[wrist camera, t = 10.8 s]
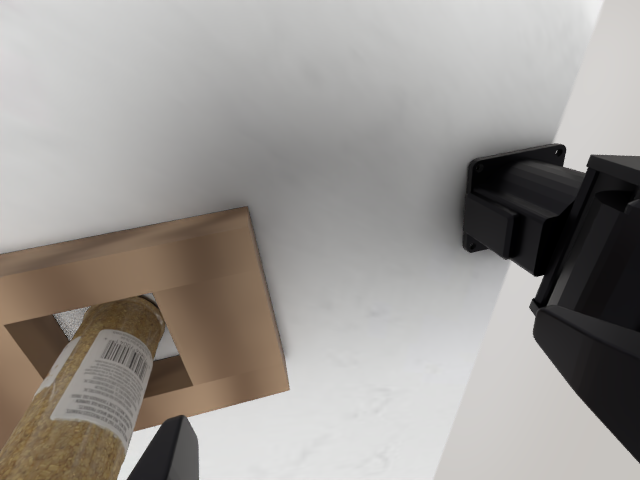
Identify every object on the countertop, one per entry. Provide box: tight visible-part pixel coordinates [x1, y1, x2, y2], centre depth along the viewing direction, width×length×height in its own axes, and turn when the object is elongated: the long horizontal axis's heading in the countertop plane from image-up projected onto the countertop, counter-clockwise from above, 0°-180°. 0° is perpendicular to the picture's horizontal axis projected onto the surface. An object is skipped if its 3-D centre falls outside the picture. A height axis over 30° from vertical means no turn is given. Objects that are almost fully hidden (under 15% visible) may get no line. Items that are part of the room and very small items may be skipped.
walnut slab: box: [0, 206, 290, 451], centre depth 20 cm, size 18×12×3 cm, turn 98°
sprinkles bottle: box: [0, 296, 165, 480], centre depth 15 cm, size 5×5×14 cm
